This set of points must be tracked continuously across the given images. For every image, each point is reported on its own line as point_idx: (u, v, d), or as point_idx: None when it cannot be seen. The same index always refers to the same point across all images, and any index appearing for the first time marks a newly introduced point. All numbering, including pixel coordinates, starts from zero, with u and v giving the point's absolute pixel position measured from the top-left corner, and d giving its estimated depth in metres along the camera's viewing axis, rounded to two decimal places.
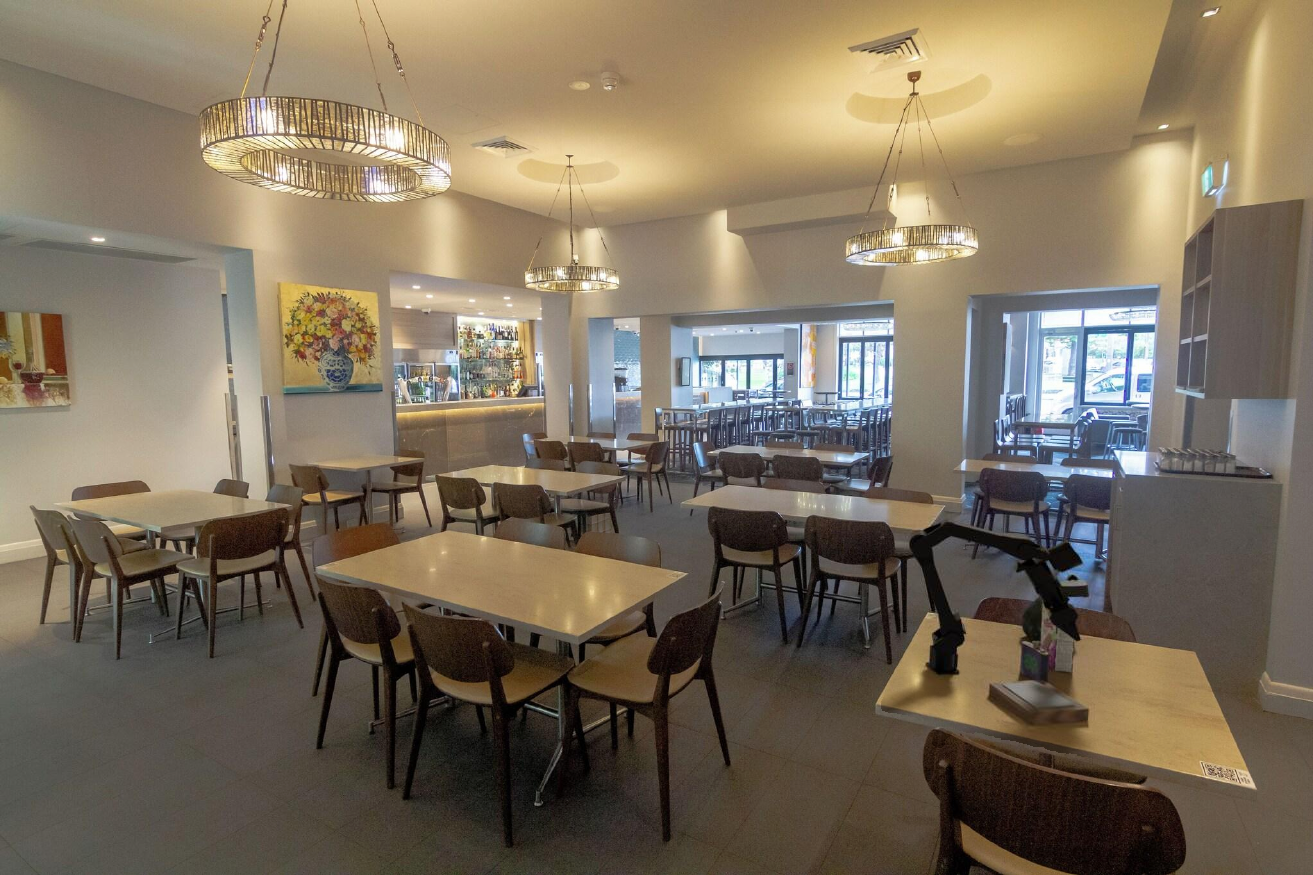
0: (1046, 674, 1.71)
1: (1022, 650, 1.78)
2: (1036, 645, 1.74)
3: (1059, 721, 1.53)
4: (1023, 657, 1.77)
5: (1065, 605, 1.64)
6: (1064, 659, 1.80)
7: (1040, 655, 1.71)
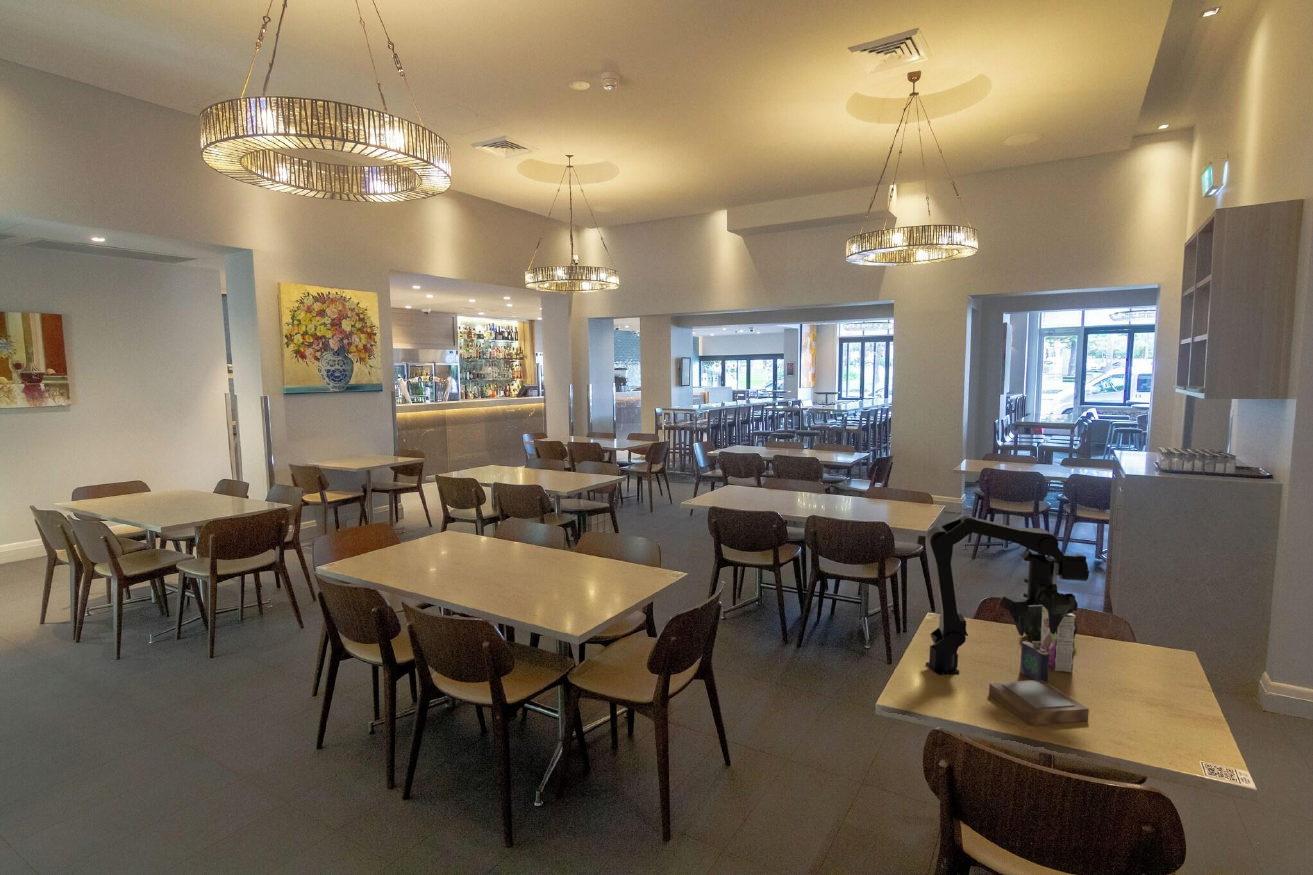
0: (1046, 674, 1.71)
1: (1022, 650, 1.78)
2: (1036, 645, 1.74)
3: (1059, 721, 1.53)
4: (1023, 657, 1.77)
5: (1020, 600, 1.71)
6: (1064, 659, 1.80)
7: (1040, 655, 1.71)
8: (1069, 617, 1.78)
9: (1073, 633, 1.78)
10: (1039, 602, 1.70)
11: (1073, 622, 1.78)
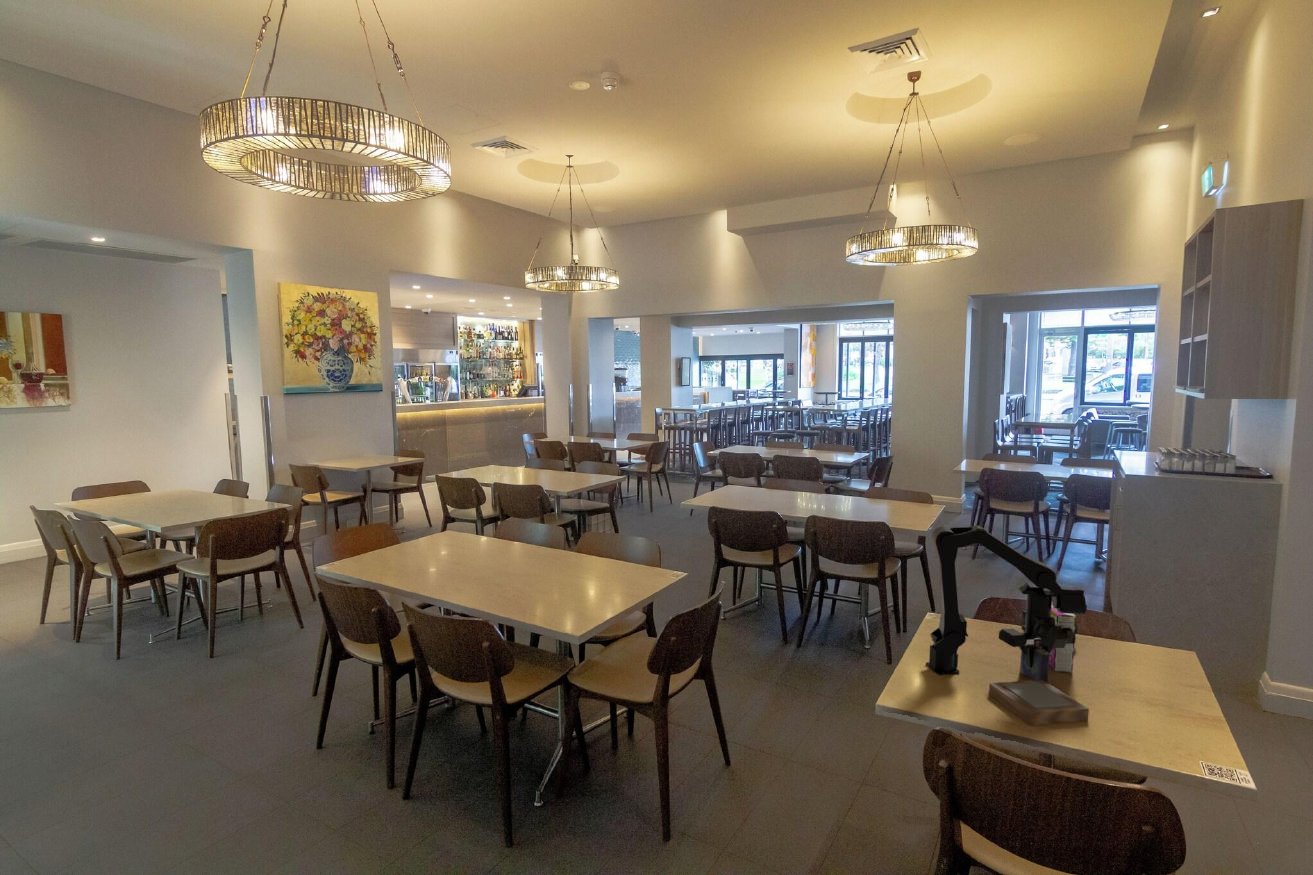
0: (1046, 674, 1.71)
1: None
2: (1036, 645, 1.74)
3: (1059, 721, 1.53)
4: (1023, 657, 1.77)
5: (1018, 634, 1.72)
6: (1064, 659, 1.80)
7: (1040, 655, 1.71)
8: (1069, 617, 1.78)
9: None
10: (1037, 635, 1.71)
11: (1073, 622, 1.78)
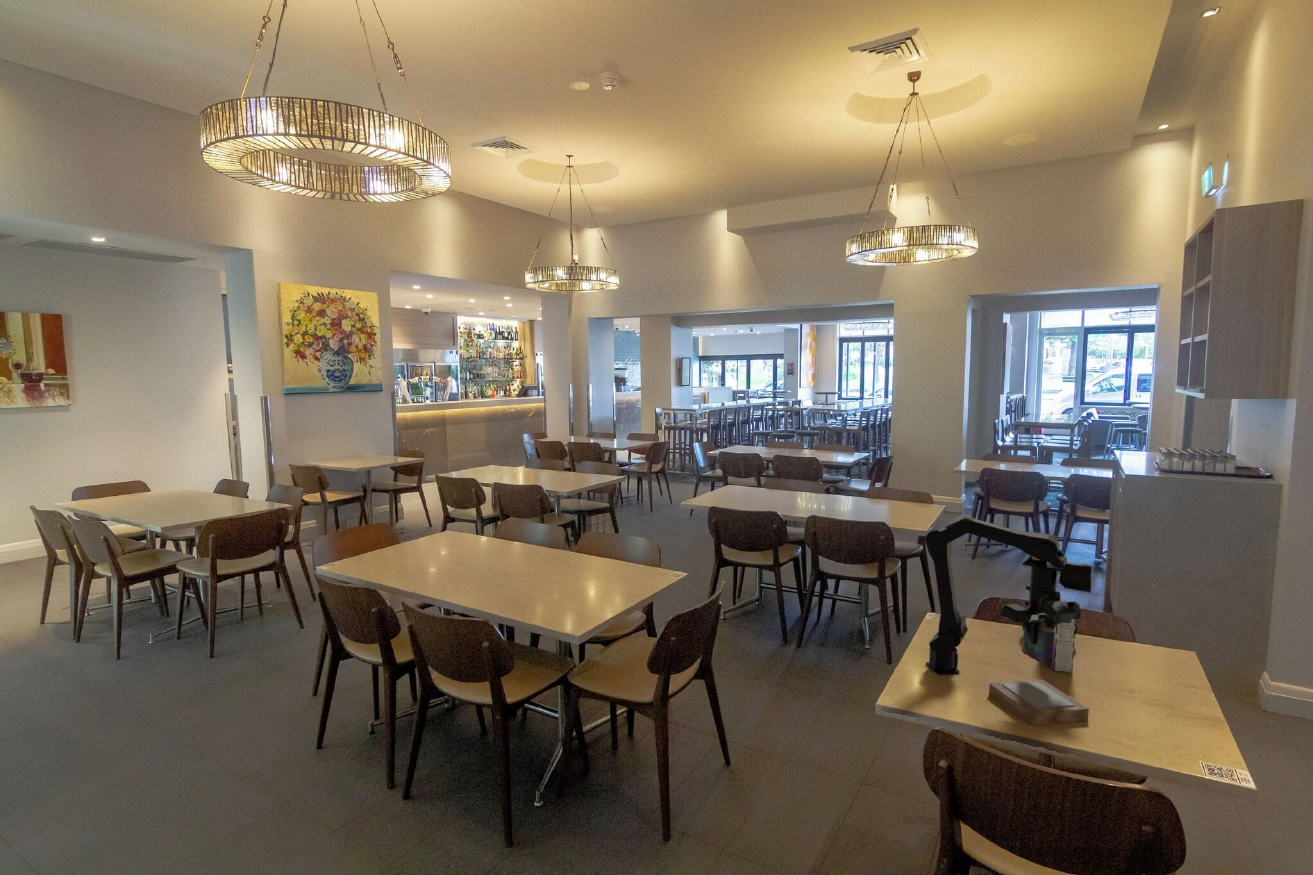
0: (1051, 653, 1.63)
1: None
2: None
3: (1059, 721, 1.53)
4: (1026, 635, 1.69)
5: (1022, 609, 1.63)
6: (1064, 659, 1.80)
7: (1045, 633, 1.63)
8: None
9: (1073, 633, 1.78)
10: (1042, 610, 1.62)
11: (1073, 622, 1.78)
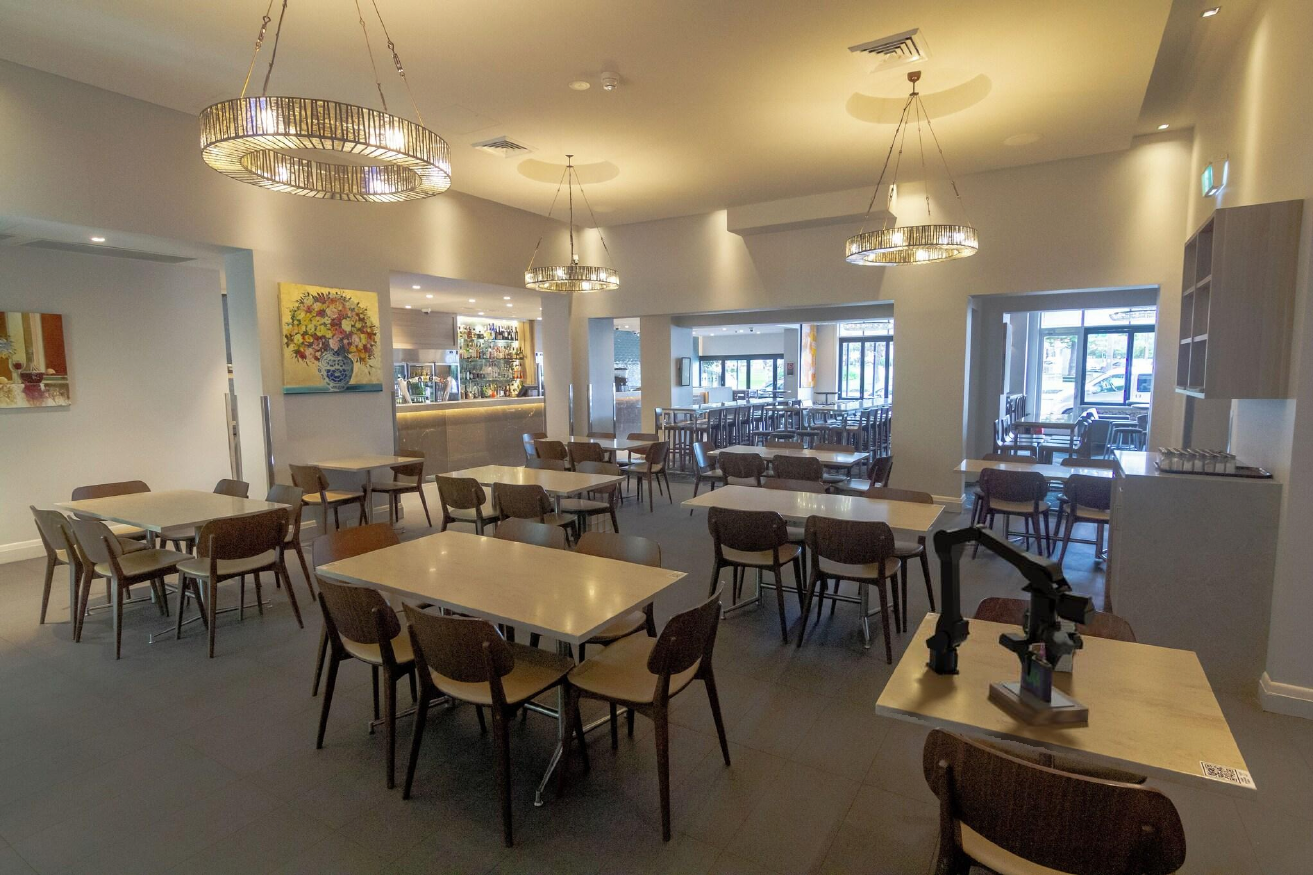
0: (1049, 688, 1.56)
1: None
2: (1038, 656, 1.59)
3: (1059, 721, 1.53)
4: None
5: (1020, 639, 1.56)
6: (1064, 659, 1.80)
7: (1042, 667, 1.56)
8: None
9: None
10: (1041, 640, 1.56)
11: (1073, 622, 1.78)
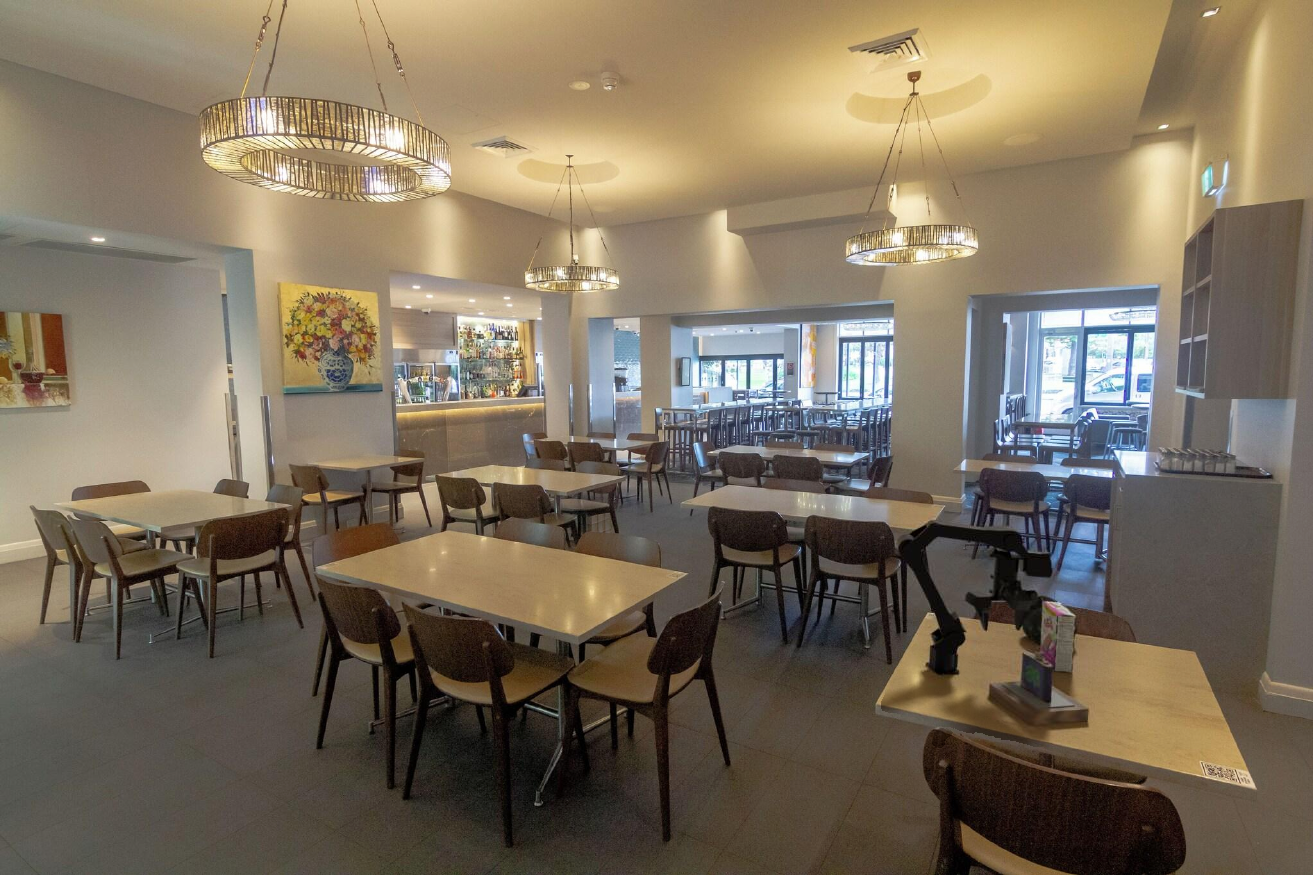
0: (1049, 688, 1.56)
1: (1023, 661, 1.63)
2: (1038, 656, 1.59)
3: (1059, 721, 1.53)
4: (1025, 669, 1.63)
5: (984, 596, 1.73)
6: (1064, 659, 1.80)
7: (1043, 667, 1.56)
8: (1069, 617, 1.78)
9: (1073, 633, 1.78)
10: (1002, 598, 1.72)
11: (1073, 622, 1.78)
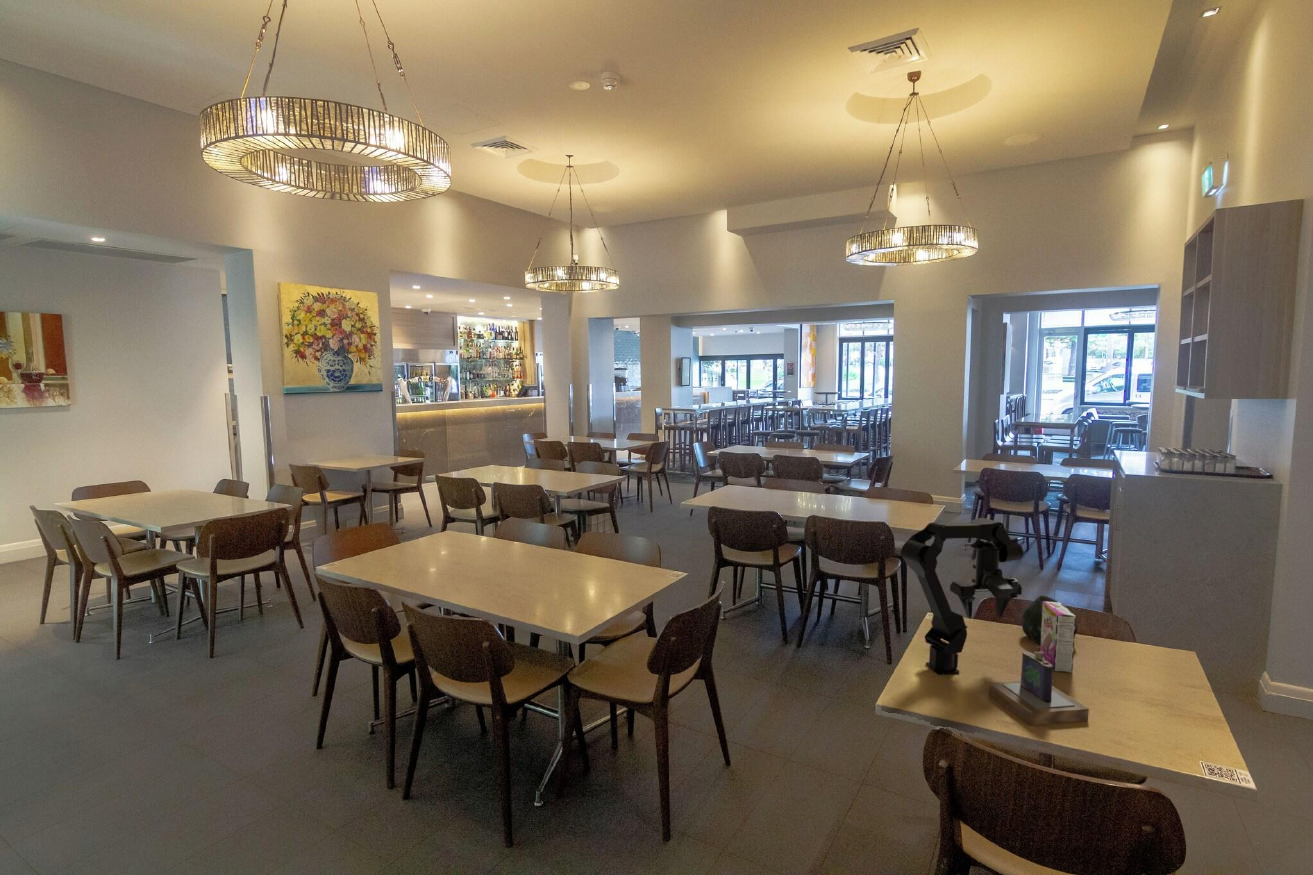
0: (1049, 688, 1.56)
1: (1023, 661, 1.63)
2: (1038, 656, 1.59)
3: (1059, 721, 1.53)
4: (1025, 669, 1.63)
5: (968, 585, 1.81)
6: (1064, 659, 1.80)
7: (1043, 667, 1.56)
8: (1069, 617, 1.78)
9: (1073, 633, 1.78)
10: (985, 586, 1.81)
11: (1073, 622, 1.78)
